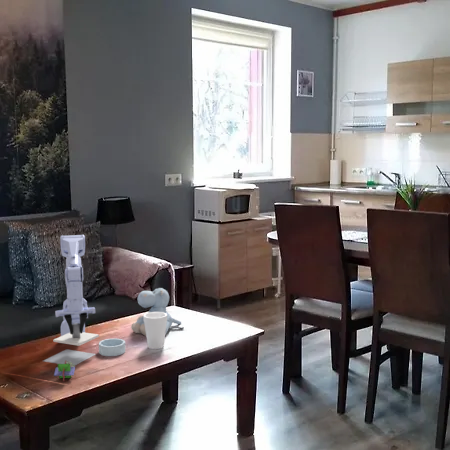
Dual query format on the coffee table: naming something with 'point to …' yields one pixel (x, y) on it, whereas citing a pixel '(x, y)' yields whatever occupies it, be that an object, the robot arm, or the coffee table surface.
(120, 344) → the bowl
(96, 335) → the lid
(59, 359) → the mat
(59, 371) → the geometric puzzle
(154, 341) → the foam cup
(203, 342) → the coffee table surface
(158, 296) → the light blue rounded figure
